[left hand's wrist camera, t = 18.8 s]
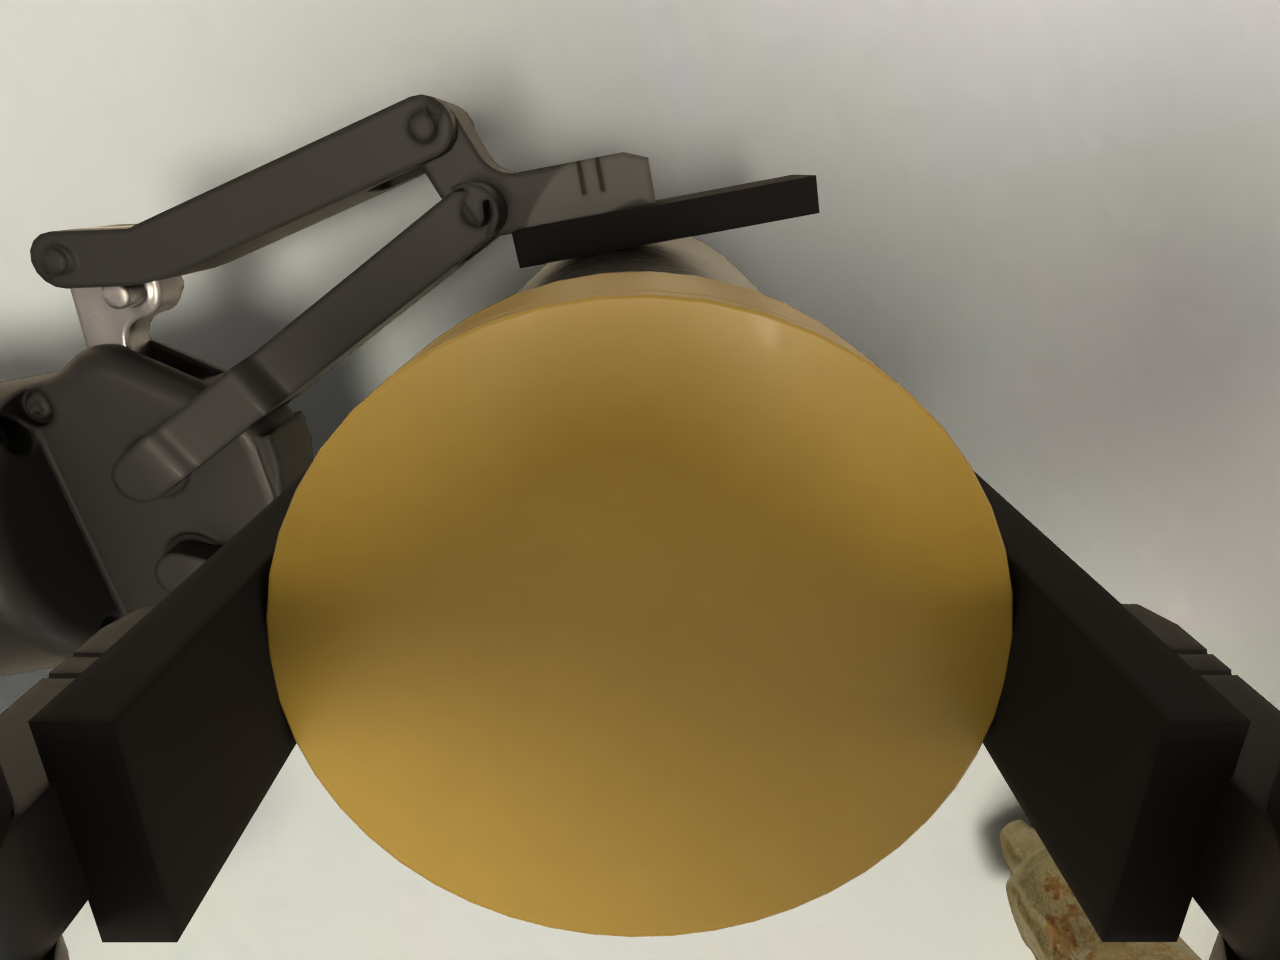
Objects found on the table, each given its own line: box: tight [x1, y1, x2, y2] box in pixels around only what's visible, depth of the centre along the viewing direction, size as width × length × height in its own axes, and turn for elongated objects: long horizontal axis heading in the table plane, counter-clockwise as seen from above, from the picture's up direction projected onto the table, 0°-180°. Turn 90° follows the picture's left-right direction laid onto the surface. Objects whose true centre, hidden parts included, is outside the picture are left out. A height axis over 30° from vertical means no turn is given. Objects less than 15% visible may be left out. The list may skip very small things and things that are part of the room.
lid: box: [266, 271, 1013, 937], centre depth 11 cm, size 9×9×2 cm
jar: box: [516, 237, 762, 294], centre depth 19 cm, size 9×9×16 cm
